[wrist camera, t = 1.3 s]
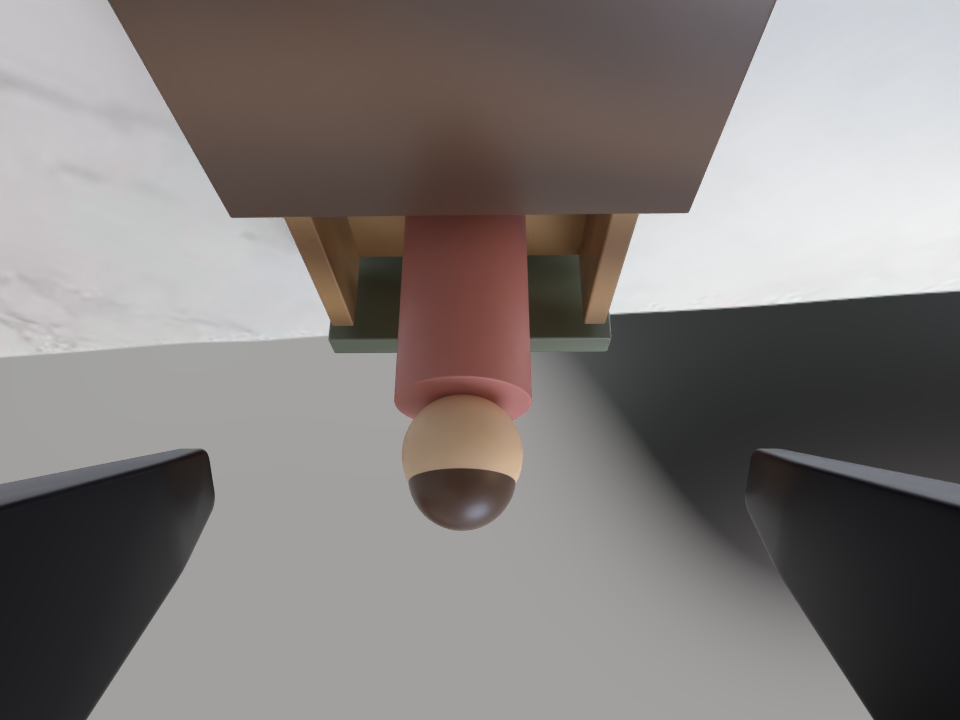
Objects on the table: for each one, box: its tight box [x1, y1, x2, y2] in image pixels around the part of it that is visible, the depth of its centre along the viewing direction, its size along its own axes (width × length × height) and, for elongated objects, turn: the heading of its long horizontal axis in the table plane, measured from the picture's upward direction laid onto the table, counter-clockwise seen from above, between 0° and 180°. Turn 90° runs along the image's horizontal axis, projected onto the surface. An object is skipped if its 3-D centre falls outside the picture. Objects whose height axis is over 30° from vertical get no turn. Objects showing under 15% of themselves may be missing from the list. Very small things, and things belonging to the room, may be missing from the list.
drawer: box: [284, 214, 639, 353], centre depth 23 cm, size 13×11×4 cm
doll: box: [394, 215, 532, 531], centre depth 21 cm, size 4×4×11 cm
